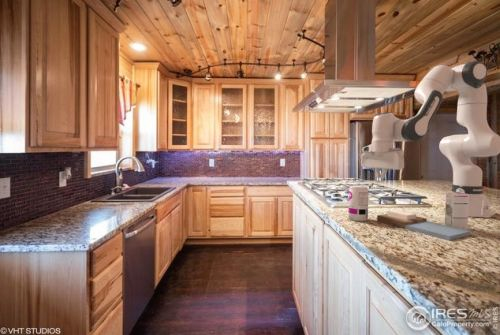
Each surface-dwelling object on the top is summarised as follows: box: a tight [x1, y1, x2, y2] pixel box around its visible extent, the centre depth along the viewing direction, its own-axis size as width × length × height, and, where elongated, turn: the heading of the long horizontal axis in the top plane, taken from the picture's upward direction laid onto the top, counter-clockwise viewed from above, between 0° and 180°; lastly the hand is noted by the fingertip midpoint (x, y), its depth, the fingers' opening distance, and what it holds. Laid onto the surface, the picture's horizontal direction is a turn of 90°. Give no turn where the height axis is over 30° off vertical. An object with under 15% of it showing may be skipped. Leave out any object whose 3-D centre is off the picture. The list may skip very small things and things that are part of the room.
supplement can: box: [347, 184, 370, 222], centre depth 123 cm, size 8×8×15 cm
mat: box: [404, 220, 472, 241], centre depth 104 cm, size 14×16×2 cm
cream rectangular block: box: [386, 209, 417, 220], centre depth 117 cm, size 6×9×2 cm, turn 27°
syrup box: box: [444, 191, 469, 230], centre depth 108 cm, size 6×6×14 cm
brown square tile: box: [376, 213, 428, 229], centre depth 117 cm, size 14×13×2 cm
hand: (380, 178), depth 126 cm, fingers closed
